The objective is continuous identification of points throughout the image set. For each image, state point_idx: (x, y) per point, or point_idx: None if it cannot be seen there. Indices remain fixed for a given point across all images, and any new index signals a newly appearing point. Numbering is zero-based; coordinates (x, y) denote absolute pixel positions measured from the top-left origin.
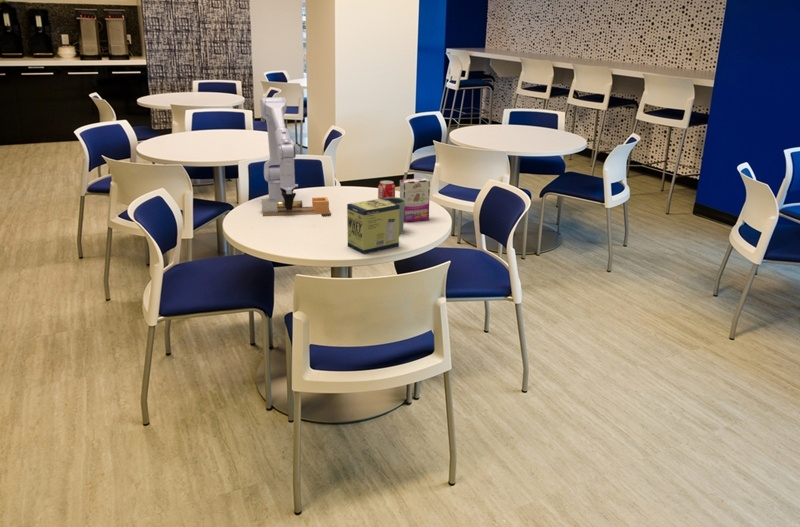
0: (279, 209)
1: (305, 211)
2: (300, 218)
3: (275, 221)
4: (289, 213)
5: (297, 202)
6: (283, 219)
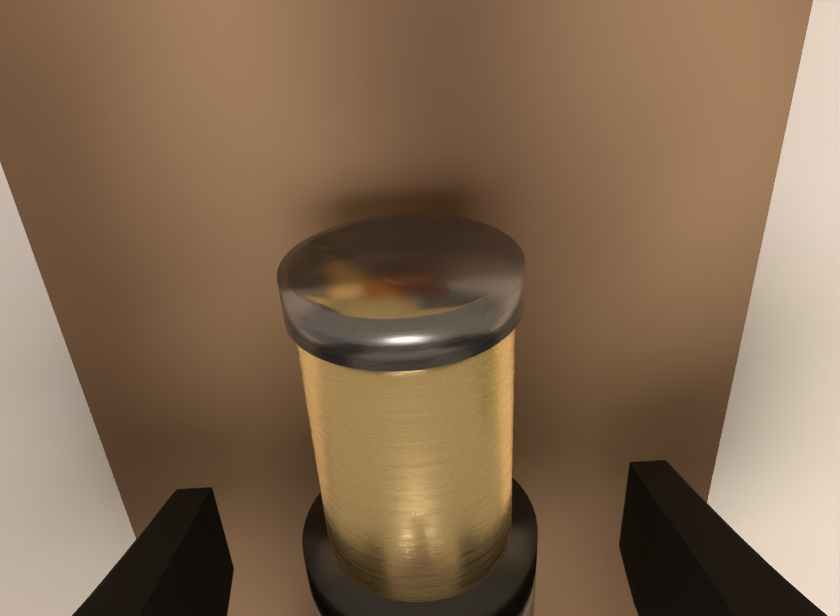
0: (279, 581)
1: (473, 101)
2: (814, 210)
3: (833, 573)
4: (584, 436)
5: (493, 431)
6: (766, 484)
